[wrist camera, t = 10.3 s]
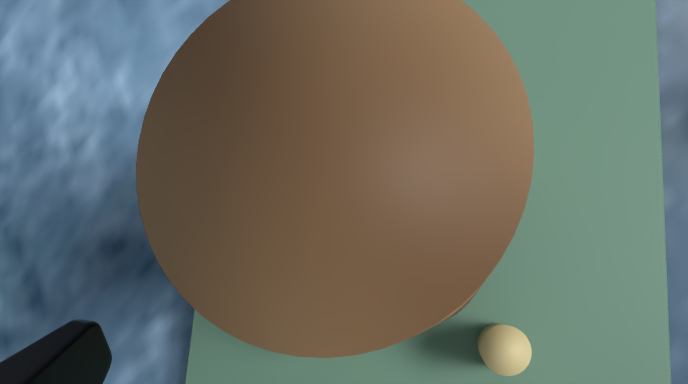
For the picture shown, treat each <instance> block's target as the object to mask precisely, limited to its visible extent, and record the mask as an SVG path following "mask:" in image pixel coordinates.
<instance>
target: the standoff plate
mask: <svg viewBox="0 0 688 384" xmlns="http://www.w3.org/2000/svg"><path fill="white" fill-rule="evenodd" d="M462 1H463V2H464V3H465V4H467V5H468V6H469V7H471V8H472V9H473V10H474V11H475V12H476V13H477V14H478V15H479V16H480V17H481V18H482V19H483V20H484V21H485V22H486V23H487V24H488V25H489V26H490V27H491V28H492V29H493V31H494V32H495V34H496V35H497V36H498V38H499V39H500V40H501V42H502V43H503V45H504V46H505V47H506V49H507V50H508V52H509V54H510V56H511V58H512V60H513V62H514V64H515V66H516V68H517V70H518V71H519V74H520V77H521V79H522V82H523V85H524V88H525V91H526V94H527V97H528V101H529V106H530V111H531V116H532V121H533V133H534V162H533V172H532V181H531V185H530V189H529V194H528V198H527V202H526V206H525V209H524V212H523V214H522V217H521V220H520V222H519V225H518V227H517V230H516V232H515V235H514V237H513V238H512V240H511V242H510V244H509V245H508V247H507V249H506V251H505V253H504V254H503V256H502V258H501V260H500V261H499V263H498V264H497V265H496V267H495V268H494V269H493V271H492V272H491V274H490V275H489V276H488V278H487V279H486V280H485V282H484V283H483V285H482V286H481V287H480V289H479V290H478V291H477V293H476V294H475V295H474V297H473V298H472V299H471V301H470V302H469V303H468V304H467V305H466V306H465V307H464V308H463V309H462V310H461V311H460V312H458V313H457V314H456V315H454V316H452V317H451V318H449V319H447V320H445V321H443V322H441V323H439V324H437V325H435V326H433V327H431V328H429V329H428V330H426V331H424V332H422V333H420V334H418V335H416V336H414V337H412V338H410V339H407V340H404V341H402V342H399V343H397V344H394V345H392V346H389V347H386V348H384V349H380V350H376V351H372V352H367V353H363V354H359V355H354V356H344V357H333V358H313V357H297V356H292V355H286V354H281V353H276V352H271V351H268V350H265V349H262V348H260V347H257V346H254V345H251V344H248V343H246V342H244V341H242V340H240V339H238V338H236V337H234V336H232V335H230V334H228V333H226V332H224V331H222V330H221V329H220V328H218V327H217V326H215V325H214V324H212V323H211V322H210V321H208V320H207V319H205V318H204V317H203V316H201V315H200V314H199V313H198V312H197V311H196V310H195V311H194V319H193V327H192V334H191V342H190V350H189V358H188V366H187V374H186V381H185V384H671V367H670V343H669V318H668V293H667V269H666V244H665V220H664V195H663V170H662V146H661V121H660V96H659V72H658V47H657V22H656V0H462Z"/></svg>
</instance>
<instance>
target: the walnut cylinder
mask: <svg viewBox="0 0 688 384" xmlns="http://www.w3.org/2000/svg"><path fill="white" fill-rule="evenodd" d="M533 162H534V133H533V121H532V116H531V111H530V106H529V101H528V97H527V94H526V91H525V88H524V85H523V82H522V79H521V77H520V74H519V71H518V70H517V68H516V66H515V64H514V62H513V60H512V58H511V56H510V54H509V52H508V50H507V49H506V47H505V46H504V45H503V43H502V42H501V40H500V39H499V38H498V36H497V35H496V34H495V32H494V31H493V29H492V28H491V27H490V26H489V25H488V24H487V23H486V22H485V21H484V20H483V19H482V18H481V17H480V16H479V15H478V14H477V13H476V12H475V11H474V10H473V9H472V8H471V7H469V6H468V5H467V4H465V3H464V2H463V1H462V0H230V1H229V2H227V3H226V4H224V5H223V6H222V7H221V8H219V9H218V10H217V11H216V12H214V13H213V14H212V15H211V16H209V17H208V18H207V19H206V20H205V21H204V22H203V23H202V24H201V25H200V26H199V27H198V28H197V29H196V30H195V31H194V32H193V33H192V34H191V35H190V36H189V37H188V39H187V40H186V41H185V42H184V44H183V45H182V46H181V47H180V49H179V50H178V51H177V52H176V54H175V55H174V57H173V58H172V60H171V61H170V63H169V65H168V66H167V68H166V69H165V71H164V72H163V74H162V76H161V78H160V80H159V82H158V84H157V86H156V88H155V90H154V92H153V94H152V97H151V100H150V103H149V105H148V108H147V111H146V114H145V117H144V121H143V125H142V129H141V134H140V138H139V144H138V153H137V162H136V183H137V195H138V202H139V209H140V215H141V218H142V222H143V226H144V229H145V233H146V236H147V239H148V241H149V243H150V246H151V248H152V250H153V253H154V255H155V257H156V259H157V261H158V263H159V265H160V266H161V268H162V270H163V271H164V273H165V275H166V276H167V278H168V280H169V281H170V282H171V283H172V285H173V286H174V287H175V288H176V290H177V291H178V292H179V293H180V295H181V296H182V297H183V298H184V300H186V301H187V302H188V303H189V304H190V305H191V306H192V307H193V308H194V309H195V310H196V311H197V312H198V313H199V314H200V315H201V316H203V317H204V318H205V319H207V320H208V321H210V322H211V323H212V324H214V325H215V326H217V327H218V328H220V329H221V330H222V331H224V332H226V333H228V334H230V335H232V336H234V337H236V338H238V339H240V340H242V341H244V342H246V343H248V344H251V345H254V346H257V347H260V348H262V349H265V350H268V351H271V352H276V353H281V354H286V355H292V356H297V357H313V358H333V357H344V356H354V355H359V354H363V353H367V352H372V351H376V350H380V349H384V348H386V347H389V346H392V345H394V344H397V343H399V342H402V341H404V340H407V339H410V338H412V337H414V336H416V335H418V334H420V333H422V332H424V331H426V330H428V329H429V328H431V327H433V326H435V325H437V324H439V323H441V322H443V321H445V320H447V319H449V318H451V317H452V316H454V315H456V314H457V313H458V312H460V311H461V310H462V309H463V308H464V307H465V306H466V305H467V304H468V303H469V302H470V301H471V299H472V298H473V297H474V295H475V294H476V293H477V291H478V290H479V289H480V287H481V286H482V285H483V283H484V282H485V280H486V279H487V278H488V276H489V275H490V274H491V272H492V271H493V269H494V268H495V267H496V265H497V264H498V263H499V261H500V260H501V258H502V256H503V254H504V253H505V251H506V249H507V247H508V245H509V244H510V242H511V240H512V238H513V237H514V235H515V232H516V230H517V227H518V225H519V222H520V220H521V217H522V214H523V212H524V209H525V206H526V202H527V198H528V194H529V189H530V185H531V181H532V172H533Z"/></svg>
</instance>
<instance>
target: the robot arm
mask: <svg viewBox="0 0 688 384" xmlns="http://www.w3.org/2000/svg"><path fill="white" fill-rule="evenodd" d="M111 360H112V355H111V351H110V348H109V346H108V344H107V341H106V339H105V336H104V334H103V331H102V329H101V327H100V325H99V324H98V323H96V322H94V321H87V320H73V321H70V322H68V323H67V324H65V325H63V326H62V327H60V328H58V329H57V330H55V331H53V332H51V333H50V334H48V335H46V336H45V337H43V338H41V339H40V340H38V341H36V342H34V343H33V344H31V345H29V346H28V347H26V348H24V349H23V350H21V351H19V352H18V353H16V354H14V355H12V356H11V357H9V358H7V359H6V360H4V361H2V362H1V363H0V384H103V382H104V380H105V377H106V375H107V373H108V371H109V368H110V365H111Z"/></svg>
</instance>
